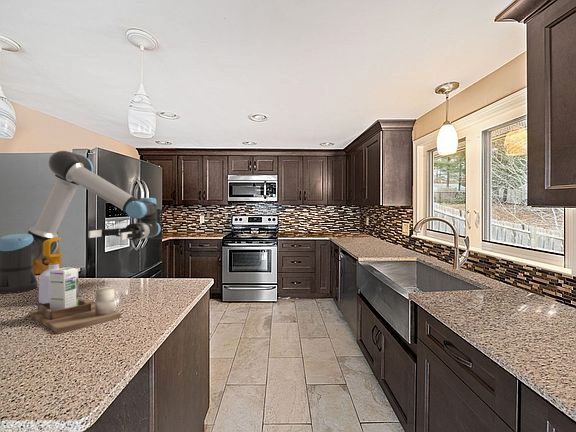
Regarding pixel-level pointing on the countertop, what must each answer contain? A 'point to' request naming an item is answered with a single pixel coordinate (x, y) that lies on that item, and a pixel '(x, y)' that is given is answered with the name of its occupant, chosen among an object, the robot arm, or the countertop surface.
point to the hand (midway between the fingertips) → (105, 235)
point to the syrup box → (63, 288)
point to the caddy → (79, 312)
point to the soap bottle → (47, 271)
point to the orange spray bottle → (45, 262)
